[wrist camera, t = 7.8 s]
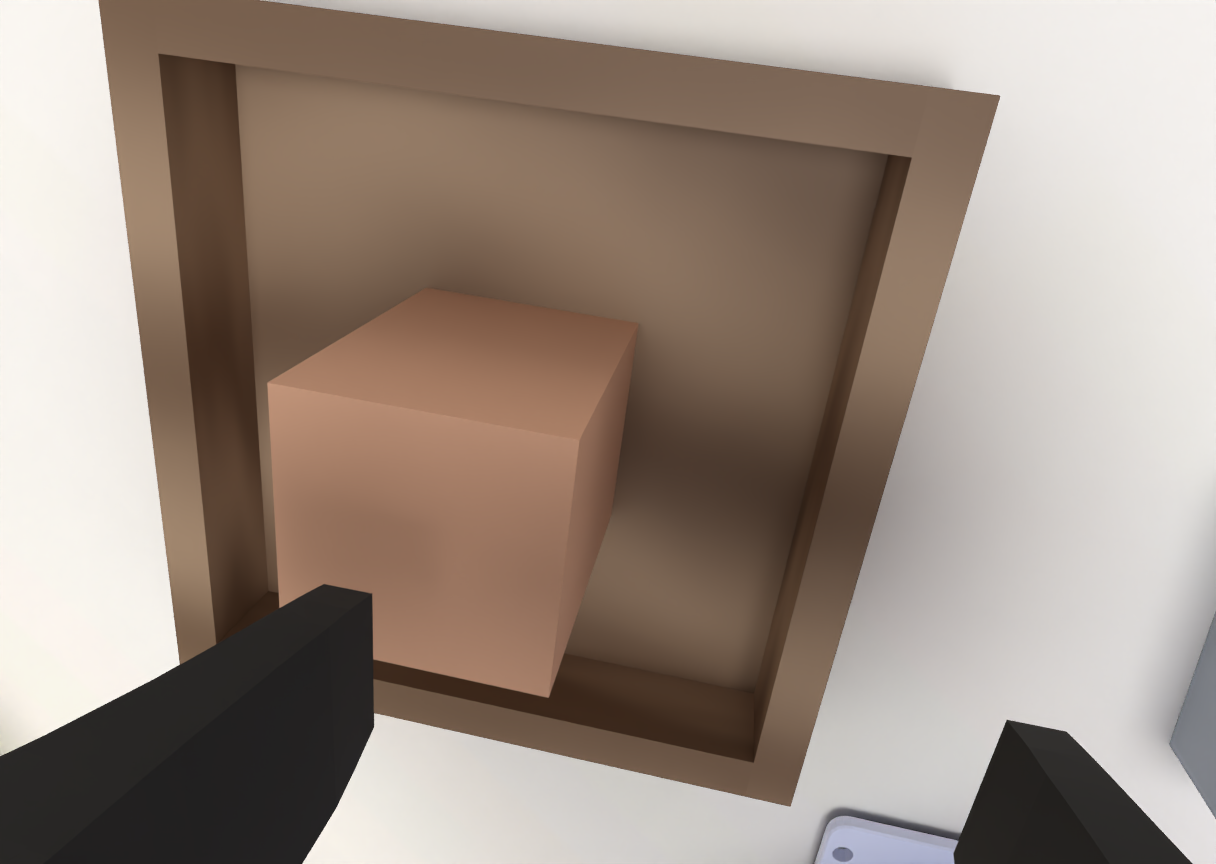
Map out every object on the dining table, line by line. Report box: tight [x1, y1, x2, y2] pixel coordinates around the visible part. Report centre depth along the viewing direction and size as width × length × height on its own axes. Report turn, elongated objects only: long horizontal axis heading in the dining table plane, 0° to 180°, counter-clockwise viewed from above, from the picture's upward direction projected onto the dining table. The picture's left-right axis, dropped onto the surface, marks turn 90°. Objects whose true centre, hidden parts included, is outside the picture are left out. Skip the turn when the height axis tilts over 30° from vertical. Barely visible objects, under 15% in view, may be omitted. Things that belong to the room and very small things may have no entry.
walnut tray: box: [99, 0, 1000, 806], centre depth 17 cm, size 14×14×3 cm
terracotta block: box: [267, 288, 639, 698], centre depth 15 cm, size 4×4×6 cm
